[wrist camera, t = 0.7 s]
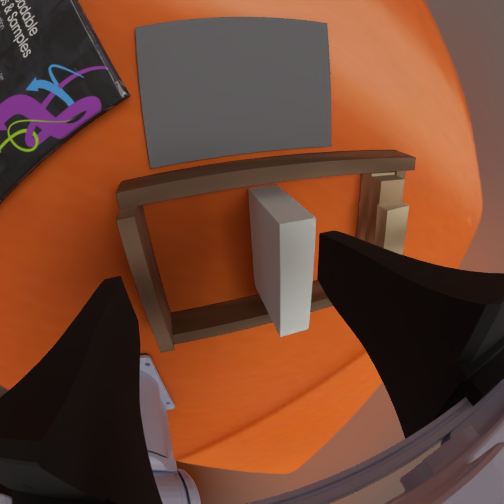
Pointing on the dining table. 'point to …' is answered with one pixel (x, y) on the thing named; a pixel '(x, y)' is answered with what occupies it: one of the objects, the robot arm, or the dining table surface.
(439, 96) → the dining table surface
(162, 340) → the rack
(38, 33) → the box
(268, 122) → the mat
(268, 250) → the light grey block
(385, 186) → the offcuts
